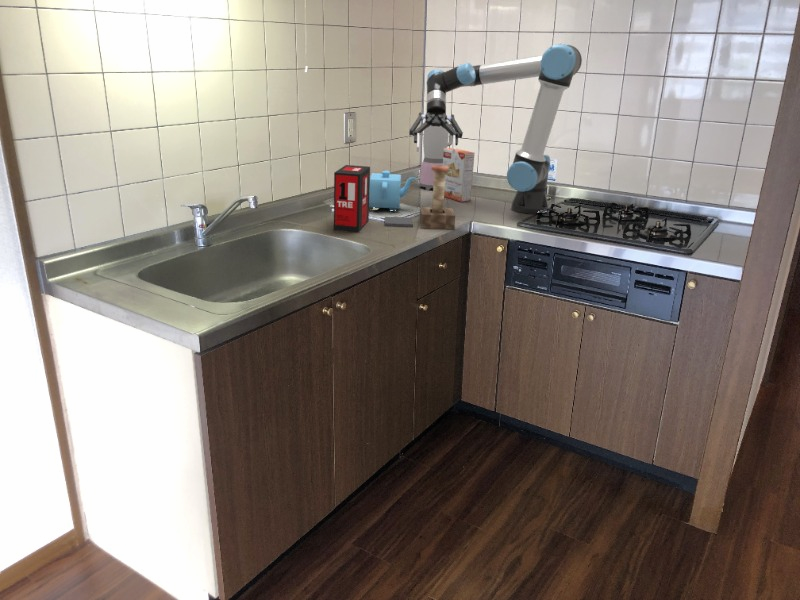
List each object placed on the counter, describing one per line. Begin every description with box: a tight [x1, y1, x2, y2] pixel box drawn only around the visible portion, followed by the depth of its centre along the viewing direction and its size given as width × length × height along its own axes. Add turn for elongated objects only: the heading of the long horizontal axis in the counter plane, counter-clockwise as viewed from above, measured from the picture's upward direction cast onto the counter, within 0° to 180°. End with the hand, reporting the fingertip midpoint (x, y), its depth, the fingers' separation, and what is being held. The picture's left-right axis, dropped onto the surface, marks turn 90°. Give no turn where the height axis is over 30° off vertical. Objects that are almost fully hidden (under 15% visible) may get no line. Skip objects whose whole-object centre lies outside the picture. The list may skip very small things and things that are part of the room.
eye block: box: [419, 206, 456, 230], centre depth 240 cm, size 12×12×5 cm
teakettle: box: [369, 169, 417, 211], centre depth 259 cm, size 19×19×15 cm
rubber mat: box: [384, 216, 414, 228], centre depth 240 cm, size 10×10×1 cm
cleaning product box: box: [333, 164, 371, 233], centre depth 230 cm, size 16×9×20 cm, turn 171°
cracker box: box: [443, 147, 476, 203], centre depth 281 cm, size 14×6×21 cm, turn 36°
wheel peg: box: [431, 165, 449, 213], centre depth 237 cm, size 6×6×21 cm
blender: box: [419, 119, 454, 191], centre depth 299 cm, size 16×12×32 cm
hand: (435, 150), depth 245 cm, fingers open, 13 cm apart
